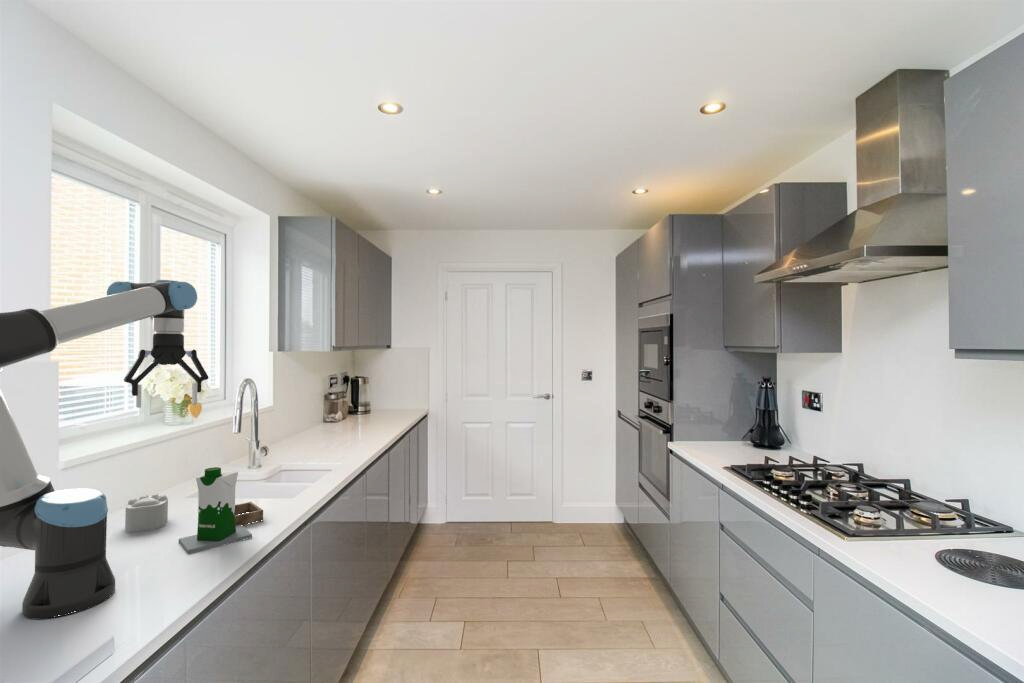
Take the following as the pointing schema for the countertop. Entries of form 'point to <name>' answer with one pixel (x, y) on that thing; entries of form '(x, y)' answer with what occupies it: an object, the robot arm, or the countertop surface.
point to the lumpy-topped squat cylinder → (146, 513)
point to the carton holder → (250, 517)
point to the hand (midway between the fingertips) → (167, 405)
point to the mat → (196, 545)
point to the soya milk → (216, 504)
